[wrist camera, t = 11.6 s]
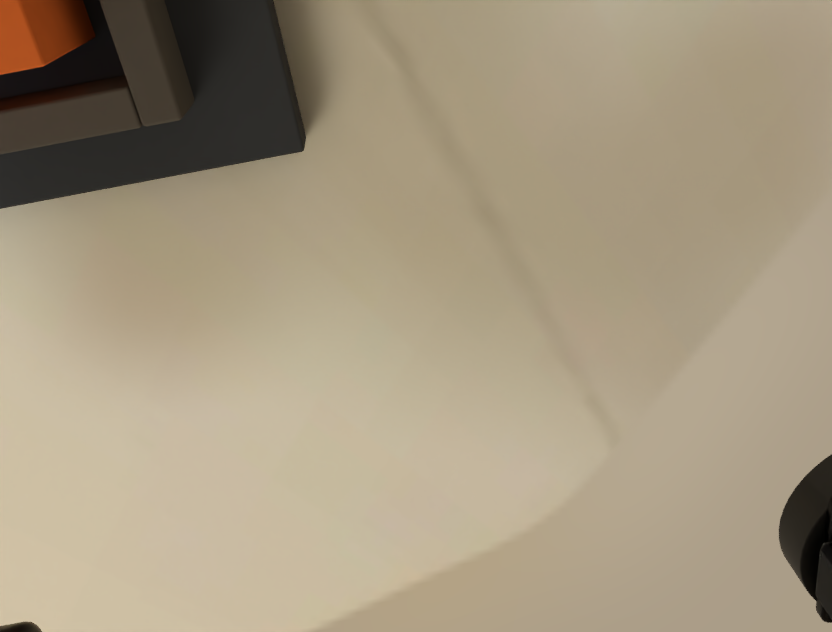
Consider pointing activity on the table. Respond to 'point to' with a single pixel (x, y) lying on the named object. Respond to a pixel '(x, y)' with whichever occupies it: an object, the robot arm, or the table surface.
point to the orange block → (40, 32)
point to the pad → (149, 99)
